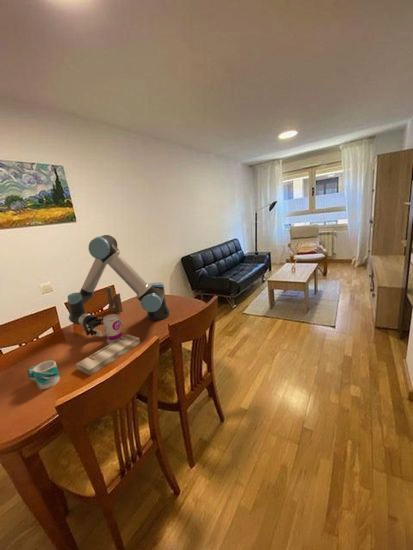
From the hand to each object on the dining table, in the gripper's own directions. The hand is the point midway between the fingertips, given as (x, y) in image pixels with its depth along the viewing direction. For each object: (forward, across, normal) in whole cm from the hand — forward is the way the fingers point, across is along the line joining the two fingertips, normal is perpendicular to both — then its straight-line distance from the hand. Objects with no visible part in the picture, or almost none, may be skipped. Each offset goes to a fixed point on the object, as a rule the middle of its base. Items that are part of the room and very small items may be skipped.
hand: (112, 328), depth 133 cm
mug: (0, +37, -9) cm, 38 cm away
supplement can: (0, 0, -9) cm, 9 cm away
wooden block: (-36, -30, -9) cm, 47 cm away
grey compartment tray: (+10, +10, -8) cm, 16 cm away
